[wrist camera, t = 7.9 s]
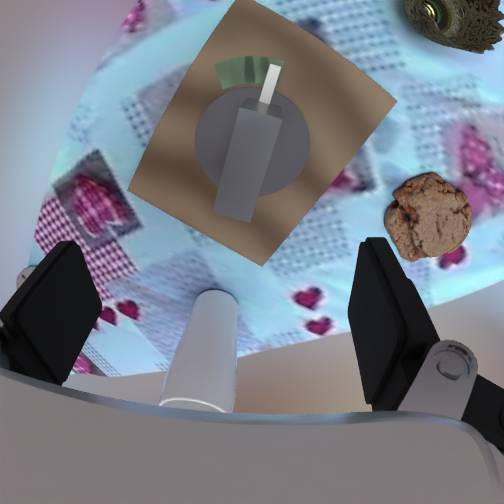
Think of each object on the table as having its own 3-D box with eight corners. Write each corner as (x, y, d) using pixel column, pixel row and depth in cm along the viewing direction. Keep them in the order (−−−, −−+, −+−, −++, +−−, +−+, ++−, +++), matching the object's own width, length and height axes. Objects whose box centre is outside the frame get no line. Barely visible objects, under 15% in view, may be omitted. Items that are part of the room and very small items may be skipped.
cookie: (459, 249, 31) (470, 263, 28) (379, 259, 32) (387, 276, 30) (471, 169, 26) (486, 180, 23) (382, 173, 27) (392, 184, 25)
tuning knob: (288, 204, 27) (292, 248, 21) (187, 176, 26) (162, 213, 20) (331, 83, 21) (353, 90, 15) (218, 51, 20) (197, 46, 14)
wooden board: (262, 255, 33) (262, 268, 31) (135, 182, 29) (126, 191, 27) (389, 98, 23) (398, 101, 21) (242, -1, 19) (240, -7, 17)
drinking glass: (181, 286, 36) (143, 396, 23) (237, 278, 35) (217, 398, 22) (200, 326, 40) (176, 430, 27) (251, 320, 38) (240, 431, 26)
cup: (371, 25, 19) (408, 13, 13) (394, -36, 15) (432, -61, 9) (442, 65, 20) (493, 73, 14) (462, 6, 16) (513, 0, 10)
